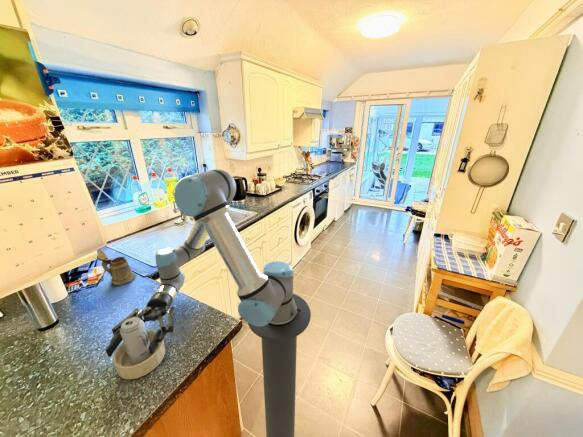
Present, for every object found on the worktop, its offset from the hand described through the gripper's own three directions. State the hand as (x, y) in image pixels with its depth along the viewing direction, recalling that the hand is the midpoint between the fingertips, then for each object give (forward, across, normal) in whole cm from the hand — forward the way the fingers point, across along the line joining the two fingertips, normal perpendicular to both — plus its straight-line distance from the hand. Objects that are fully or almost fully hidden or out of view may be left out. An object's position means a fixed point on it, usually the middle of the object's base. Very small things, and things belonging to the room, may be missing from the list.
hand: (129, 351), depth 68 cm
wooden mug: (-48, +33, -9) cm, 59 cm away
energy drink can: (-4, 0, -8) cm, 9 cm away
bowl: (-4, 0, -9) cm, 9 cm away
